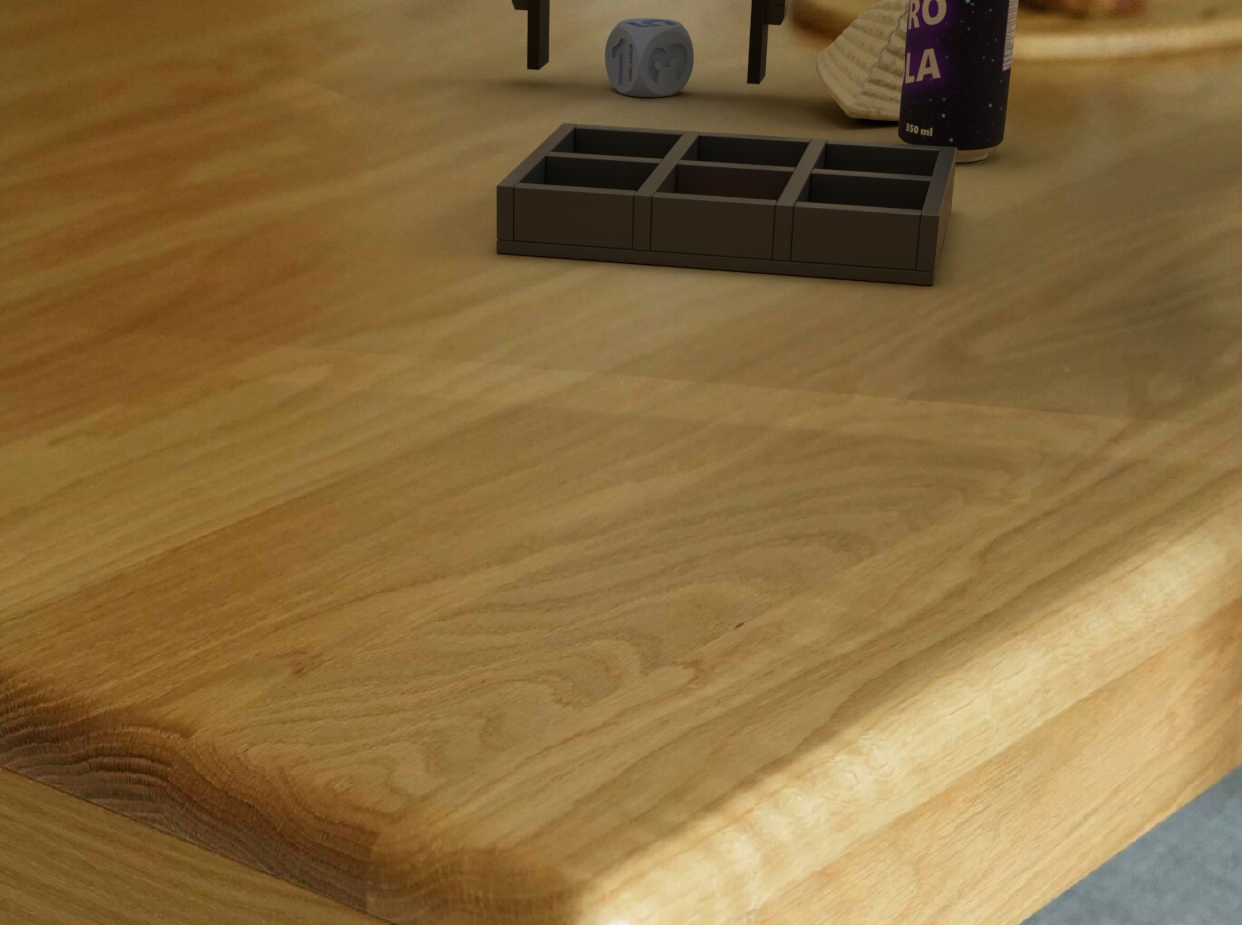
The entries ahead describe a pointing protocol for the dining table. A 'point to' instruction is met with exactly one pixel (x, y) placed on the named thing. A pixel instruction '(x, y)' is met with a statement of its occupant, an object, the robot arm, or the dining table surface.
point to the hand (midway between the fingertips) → (646, 73)
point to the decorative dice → (649, 57)
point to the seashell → (868, 62)
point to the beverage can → (957, 74)
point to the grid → (731, 202)
